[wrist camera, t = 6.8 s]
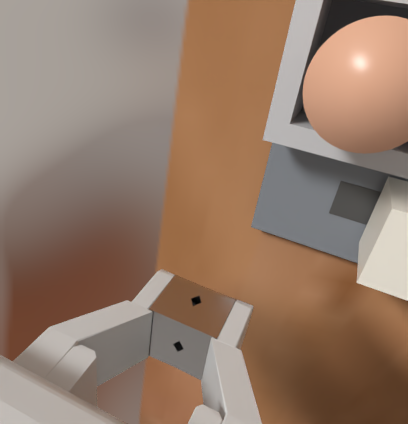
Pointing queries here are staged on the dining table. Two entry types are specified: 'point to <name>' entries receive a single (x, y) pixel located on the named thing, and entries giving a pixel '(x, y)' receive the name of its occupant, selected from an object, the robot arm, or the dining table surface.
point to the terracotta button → (361, 86)
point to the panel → (320, 145)
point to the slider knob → (386, 242)
